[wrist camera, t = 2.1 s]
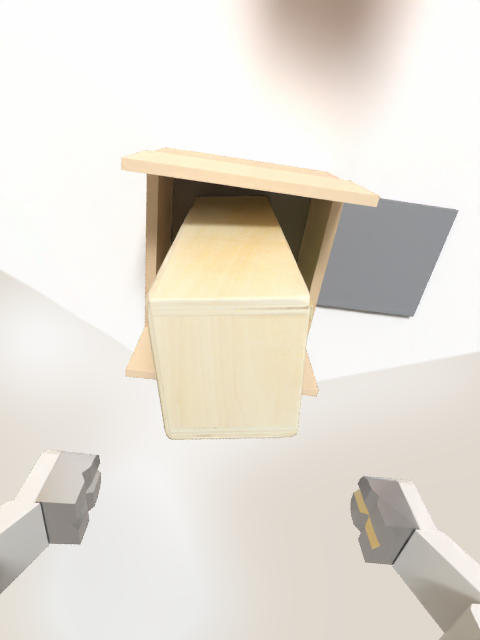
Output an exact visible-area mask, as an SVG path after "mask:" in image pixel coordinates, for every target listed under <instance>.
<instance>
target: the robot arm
mask: <svg viewBox="0 0 480 640" xmlns="http://www.w3.org/2000/svg"><path fill="white" fill-rule="evenodd" d="M99 464H100V459H99V455H92V454H82V453H74V452H65V451H53V450H45V451H44V452H43V453H42V454H41V455H40V457H39V459H38V460H37V462H36V464H35V465H34V467H33V469H32V470H31V472H30V474H29V476H28V477H27V479H26V481H25V482H24V484H23V486H22V487H21V489H20V491H19V493H18V494H17V496H16V498H15V499H14V501H7V502H6V503H4V504H3V505H1V506H0V594H1V593H2V592H3V591H4V590H5V589H6V588H7V587H8V586H9V585H10V584H11V583H12V582H13V581H14V580H15V579H16V578H17V577H18V576H19V575H20V574H21V573H22V572H23V571H24V570H25V569H26V568H27V567H28V566H29V565H30V564H31V563H32V562H33V561H34V560H35V559H36V558H37V557H38V556H39V555H40V553H42V552H43V550H45V549H46V548H47V547H48V545H49V544H48V543H52V544H80V543H81V541H82V539H83V536H84V533H85V531H86V528H87V525H88V522H89V515H88V511H89V510H91V508H93V507H94V506H95V503H96V500H97V497H98V493H99V489H100V483H101V473H100V472H99V471H98V470H97V469H98V466H99ZM358 485H359V488H360V489H359V490H357V491H356V492H354V493H353V496H352V499H351V516H352V520H353V523H354V525H355V526H356V527H357V528H358V530H359V531H360V532H361V533H360V536H359V539H358V540H359V543H360V546H361V550H362V553H363V556H364V559H365V562H369V563H380V564H390V565H393V568H394V569H395V570H396V572H397V573H398V574H399V575H400V577H401V578H402V579H403V581H404V582H405V583H406V584H407V586H408V587H409V588H410V590H411V591H412V592H413V593H414V595H415V596H416V597H417V598H418V600H419V601H420V602H421V604H422V605H423V606H424V607H425V609H426V610H427V611H428V613H429V614H430V615H431V616H432V618H433V619H434V620H435V621H436V623H437V624H438V625H439V627H440V628H441V629H442V630H443V632H444V633H445V634H444V635H443V636H442V637H441V638H440V639H439V640H480V565H478V563H476V562H475V561H474V560H473V559H472V558H471V557H470V556H469V555H468V554H466V552H464V551H463V550H462V549H461V548H460V547H459V546H458V545H457V544H456V543H454V542H453V541H452V540H451V539H450V538H449V537H448V536H447V535H446V534H444V533H443V532H442V531H437V529H436V527H435V525H434V523H433V521H432V519H431V517H430V515H429V513H428V511H427V509H426V507H425V506H424V503H423V501H422V499H421V498H420V495H419V493H418V491H417V490H416V488H415V486H414V484H413V483H412V482H411V481H410V480H404V479H393V478H382V477H367V476H363V477H362V478H361V479H360V480H359V482H358Z"/></svg>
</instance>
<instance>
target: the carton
mask: <svg viewBox="0 0 480 640" xmlns="http://www.w3.org/2000/svg"><path fill="white" fill-rule="evenodd" d="M121 167H122V170H126V171H133V172H140V173H147V202H146V287H145V300H146V296H147V293H148V291H149V289H150V287H151V285H152V283H153V281H154V279H155V277H156V275H157V273H158V271H159V269H160V267H161V265H162V263H163V261H164V259H165V257H166V255H167V253H168V251H169V249H170V247H171V228H172V207H173V185H174V178H181V179H188V180H194V181H201V182H208V183H215V184H222V185H229V186H235V187H242V188H249V189H256V190H263V191H270V192H276V193H283V194H290V195H297V196H304V197H310V198H312V199H311V204H310V208H309V213H308V217H307V221H306V226H305V230H304V235H303V239H302V243H301V248H300V252H299V257H298V261H297V266H298V268H299V271H300V273H301V275H302V277H303V280H304V282H305V284H306V286H307V289H308V291H309V295H310V300H311V302H312V304H313V314H312V318H313V315H314V311H315V307H316V304H317V300H318V296H319V293H320V289H321V285H322V281H323V278H324V274H325V270H326V267H327V263H328V259H329V256H330V252H331V248H332V245H333V241H334V237H335V234H336V230H337V226H338V223H339V219H340V215H341V211H342V208H343V204H344V202H345V203H351V204H358V205H365V206H372V207H377V204H378V201H379V198H380V196H379V195H377V194H375V193H373V192H371V191H369V190H367V189H365V188H363V187H361V186H359V185H357V184H355V183H353V182H351V181H348V180H342V179H339V178H337V177H336V176H334V175H332V174H330V173H328V172H324V171H318V170H311V169H305V168H298V167H292V166H285V165H278V164H272V163H265V162H259V161H252V160H246V159H239V158H232V157H226V156H219V155H213V154H206V153H200V152H193V151H186V150H180V149H173V148H167V147H165V148H162V149H159V150H156V151H150V150H146V151H142V152H139V153H135V154H132V155H128V156H125V157H121ZM311 322H312V319H311V320H310V321H309V323H308V333H309V329H310V326H311ZM308 333H307V337H308ZM126 376H128V377H137V378H147V379H156V373H155V367H154V361H153V355H152V350H151V344H150V338H149V332H148V325H147V318H146V308H145V328H144V330H143V333H142V335H141V337H140V339H139V341H138V344H137V346H136V348H135V350H134V352H133V354H132V357H131V359H130V361H129V363H128V365H127V368H126ZM156 380H157V379H156ZM318 391H319V390H318V387H317V383H316V380H315V377H314V373H313V370H312V367H311V363H310V360H309V357H308V354H307V350H306V354H305V364H304V374H303V384H302V394H301V395H307V396H317V394H318Z"/></svg>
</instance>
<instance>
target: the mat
mask: <svg viewBox="0 0 480 640" xmlns="http://www.w3.org/2000/svg"><path fill="white" fill-rule="evenodd" d="M457 213H458V210H455V209H448V208H442V207H435V206H428V205H421V204H415V203H408V202H401V201H395V200H388V199H381V198H379V201H378V204H377V207H372V206H365V205H358V204H351V203H345V202H344V204H343V208H342V211H341V215H340V219H339V223H338V226H337V230H336V234H335V237H334V241H333V245H332V248H331V252H330V256H329V259H328V263H327V267H326V270H325V274H324V278H323V281H322V285H321V289H320V293H319V296H318V300H317V304H316V305H324V306H332V307H340V308H348V309H356V310H364V311H372V312H380V313H388V314H396V315H404V316H412V317H413V316H414V314H415V311H416V309H417V307H418V304H419V302H420V299H421V297H422V295H423V292H424V290H425V288H426V285H427V283H428V281H429V278H430V276H431V274H432V271H433V269H434V267H435V264H436V262H437V260H438V257H439V255H440V253H441V250H442V248H443V246H444V243H445V241H446V238H447V236H448V234H449V231H450V229H451V227H452V224H453V222H454V220H455V217H456V215H457Z"/></svg>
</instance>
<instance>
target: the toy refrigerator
mask: <svg viewBox="0 0 480 640" xmlns="http://www.w3.org/2000/svg"><path fill="white" fill-rule="evenodd" d="M145 308H146V318H147V325H148V332H149V338H150V344H151V350H152V355H153V361H154V367H155V373H156V379H157V384H158V391H159V397H160V403H161V410H162V416H163V422H164V428H165V432H166V435H167V437H168V438H169V439H175V440H176V439H177V440H184V439H237V438H282V437H292V436H295V435H296V434H297V430H298V424H299V414H300V404H301V394H302V384H303V374H304V364H305V354H306V343H307V333H308V323H309V321H310V320H311V319H312V314H313V304H312V302H311V300H310V295H309V291H308V289H307V286H306V284H305V282H304V280H303V277H302V275H301V273H300V271H299V268H298V266H297V263H296V261H295V259H294V257H293V254H292V252H291V250H290V247H289V245H288V243H287V240H286V238H285V236H284V234H283V232H282V229H281V227H280V225H279V223H278V220H277V218H276V216H275V213H274V211H273V209H272V206H271V204H270V201H269V199H268V197H267V196H213V197H196V198H195V200H194V202H193V204H192V206H191V208H190V210H189V212H188V214H187V216H186V218H185V219H184V221H183V223H182V225H181V227H180V229H179V231H178V234H177V236H176V238H175V240H174V242H173V244H172V246H171V247H170V249H169V251H168V253H167V255H166V257H165V259H164V261H163V263H162V265H161V267H160V269H159V271H158V273H157V275H156V277H155V279H154V281H153V283H152V285H151V287H150V289H149V291H148V293H147V296H146V300H145Z"/></svg>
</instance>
